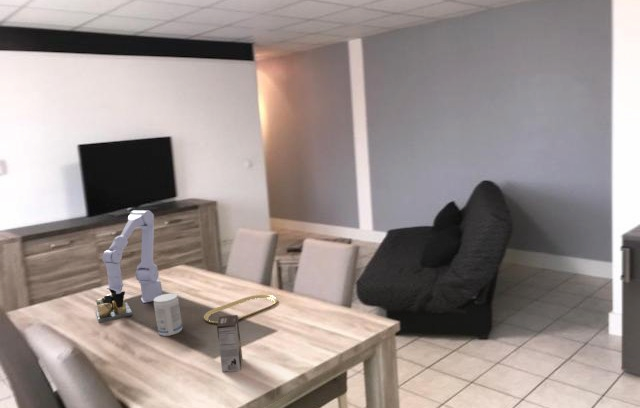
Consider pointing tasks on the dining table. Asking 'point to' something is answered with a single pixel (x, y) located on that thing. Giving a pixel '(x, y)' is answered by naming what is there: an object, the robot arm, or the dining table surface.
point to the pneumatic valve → (106, 299)
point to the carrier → (110, 312)
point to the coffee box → (229, 343)
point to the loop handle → (238, 303)
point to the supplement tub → (168, 314)
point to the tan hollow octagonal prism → (119, 310)
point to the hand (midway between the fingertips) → (119, 304)
